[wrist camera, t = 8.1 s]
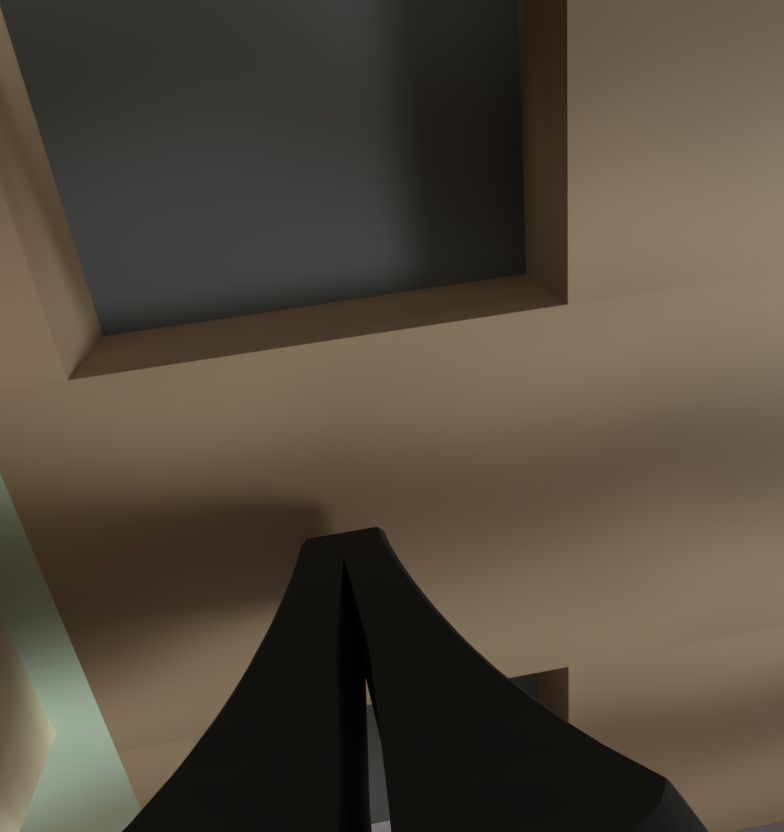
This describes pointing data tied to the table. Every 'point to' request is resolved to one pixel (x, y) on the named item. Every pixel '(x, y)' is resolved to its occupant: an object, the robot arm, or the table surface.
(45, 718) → the maple block
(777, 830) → the table surface
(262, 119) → the trap deck
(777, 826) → the table surface
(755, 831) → the table surface
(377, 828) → the table surface
